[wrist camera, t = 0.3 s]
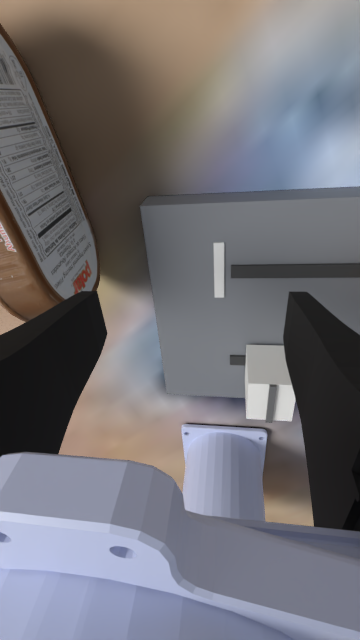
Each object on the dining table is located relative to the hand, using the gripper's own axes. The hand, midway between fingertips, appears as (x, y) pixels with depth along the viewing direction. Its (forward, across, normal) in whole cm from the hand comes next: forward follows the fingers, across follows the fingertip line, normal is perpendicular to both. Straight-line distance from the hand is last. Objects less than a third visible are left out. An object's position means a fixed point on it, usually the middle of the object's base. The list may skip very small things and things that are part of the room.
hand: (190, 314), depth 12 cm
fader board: (+10, -8, +5) cm, 14 cm away
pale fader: (+7, -4, +9) cm, 12 cm away
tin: (+10, +9, -4) cm, 14 cm away
